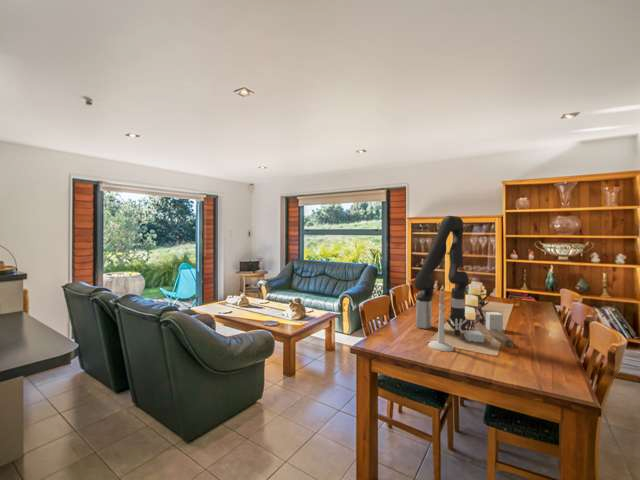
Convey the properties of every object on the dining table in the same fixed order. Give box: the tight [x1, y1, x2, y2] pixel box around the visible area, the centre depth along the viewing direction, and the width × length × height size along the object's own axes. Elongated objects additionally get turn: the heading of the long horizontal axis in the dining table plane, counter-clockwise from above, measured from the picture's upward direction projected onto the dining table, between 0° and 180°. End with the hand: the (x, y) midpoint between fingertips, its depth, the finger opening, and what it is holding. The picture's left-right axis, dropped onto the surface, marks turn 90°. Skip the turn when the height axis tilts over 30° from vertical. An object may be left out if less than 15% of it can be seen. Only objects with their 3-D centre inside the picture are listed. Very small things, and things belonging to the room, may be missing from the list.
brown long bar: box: [489, 329, 514, 348], centre depth 176 cm, size 4×20×4 cm, turn 173°
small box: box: [485, 311, 504, 332], centre depth 195 cm, size 8×6×10 cm
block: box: [463, 329, 485, 343], centre depth 178 cm, size 8×8×4 cm
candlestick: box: [427, 291, 455, 353], centre depth 165 cm, size 13×13×30 cm
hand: (457, 335), depth 179 cm, fingers closed
